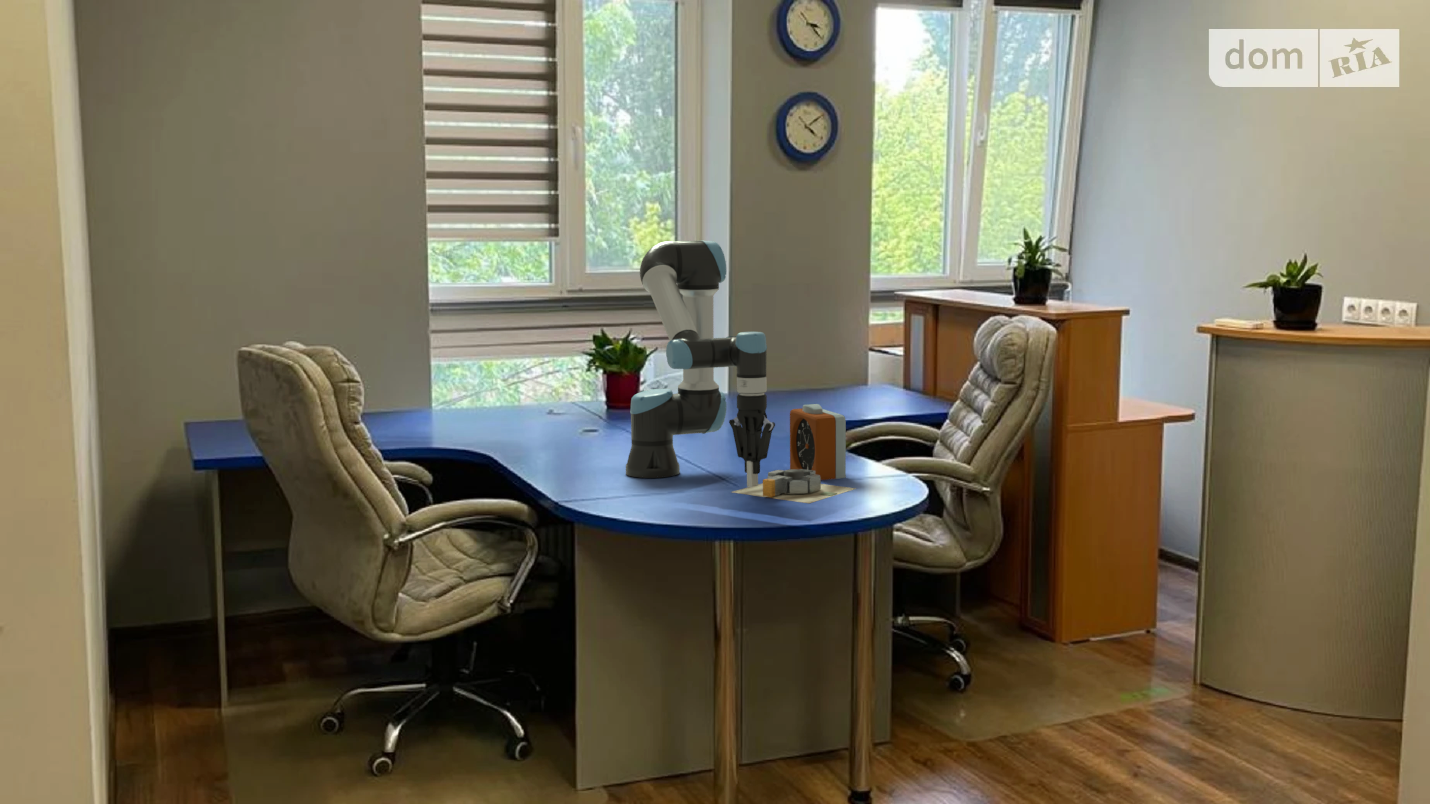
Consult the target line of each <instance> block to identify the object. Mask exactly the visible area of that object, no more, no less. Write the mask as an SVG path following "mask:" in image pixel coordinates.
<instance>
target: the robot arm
mask: <svg viewBox="0 0 1430 804" xmlns="http://www.w3.org/2000/svg"><path fill="white" fill-rule="evenodd" d="M726 275H727V261H726V256H725V254H724V251H723V249H722V247H721V245H720V244H719V243H718V242H716V241H714V240H704V239H701V240H676V241H674V240H673V241H672V240H665V241H661V242H658V243H656V244H655V245H653V246H651V248H650V249H648V251H647V252H646V253H645V254H644V256H643V258H642V260H641V263H640V266H639V278H640V281H641V284H642V287H643V289H644V290H645V291H646V292H647V293H649V294H650V296H651V298H652V301H653V303H654V306H655V309H656V311H657V313H658V316H659V318H660V320H661V322H662V325H663V328H664V330H665V332H666V333H665V334H666V335H667V337H668V340H669V341H668V342H667V345H666V349H665V355H666V357H665V358H666V362H667V365H668V366H669V367H670V368H671V369H674V370H682V380H681V382H680V383H679V384H678V385H677V393H674V392H673V391H672V390H673V389H670V388H654V389H648V390H643V391H640V392H638V393H636V394H634V395H633V396H632V397H631V400H630V409H629V410H630V411H629V412H630V413H629V414H630V436H631V438H630V440H631V447H630V450H629V454H628V458H627V462H626V464H625V475H627V476H629V477H634V478H640V479H641V478H642V479H643V478H644V479H653V478H654V479H656V478H660V479H661V478H668V477H673V476H677V475H679V474H680V472H681V470H680V469H681V468H680V467H681V466H680V464H679V461H678V458H677V454H676V450H675V448H674V440H673V439H674V436H679V435H680V436H681V435H690V434H691V435H693V434H702V435H703V434H704V435H705V434H707V433H715V432H717V431H719V430H721V428H722V426H723V425H724V422H725V420H726V415H727V401H726V399H727V397H726V395H725V393H724V392H723V391H721V390H720V386H719V384H718V383H717V382H716V381H715V380H714V369H715V368H732V367H733V368H734V367H735V368H736V392H737V395H736V408H737V409H738V411H737V413H736V416H735V417H734V418H733V419H729V421H728V423H729V425H730V427H731V429H732V434H733V438H734V443H735V444H734V445H735V449H736V453H737V457H738V458H741V459H743V461H744V472H745V474H746V488H747V487H754V486H758V484H759V474H760V473H761V461H762V460H765V459H767V457H768V453H769V449H770V443H771V438H772V433H773V430H774V428H775V427H776V423H775V422H774V421H772V422H771V421H770V420H769V419H768V416H767V415H768V414H767V412H766V411H767V407H768V406H767V405H768V403H767V402H768V399H767V398H768V397H767V395H766V392H767V391H768V390H767V389H768V388H767V387H768V386H767V385H768V384H767V380H768V377H767V349H768V345H767V336H766V334H765V333H764V332H762V331H741V332H738V333H737V334H736V335H733V336H732V335H730V336H726V337H715V338H714V295H715V294H717V292H718V291H719V289H720V284H721V283H723V282H724V281H725V280H726Z"/></svg>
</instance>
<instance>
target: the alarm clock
mask: <svg viewBox="0 0 1430 804" xmlns="http://www.w3.org/2000/svg"><path fill="white" fill-rule="evenodd" d="M846 427H847V425H846V417H845V416H844V415H843V414H841V413H838V412H834V411H831V410H828V409H824V408H823V407H822V406H821V404H819V403H815V404H814V403H812V404H803V405H802V408H801V407H800V408H793V409H791V410H790V412H789V469H798V470H799V469H805V470H813V471H815V474H817V475H820V478H821V481H827V480H838V479H845V478H846V477H847V476H846V475H847V473H846V467H847V466H846V465H847V463H846V459H847V458H846V456H847V455H846V453H847V452H846V448H847V447H846V441H847V439H846V436H847V432H846V431H847V430H846Z"/></svg>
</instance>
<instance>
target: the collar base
mask: <svg viewBox="0 0 1430 804" xmlns="http://www.w3.org/2000/svg"><path fill="white" fill-rule="evenodd" d="M784 476H787V477H792V480H802V477H803V476H804V471H803V470H798V469H790V468H789V469H785V470H784ZM854 490H857V488H856V487H849V486H847V487H846V486H840V485H833V484H827V483H826V484H825V483H821V489H820V490H818V491H814V492H811V493H797V494H789V493H787V494H786V493H782V494H779V495H775V496H773V497H768V496H763V482H762V483H758V486H754V487H747V486H746V487H744V488H741V489H738V490H733V491H731V493H733V494H734V493H735V494H741V495H748V496H754V497H760V498H768V499H769V498H770V499H777V500H783V501H789V502H796V503H804V504H812V503H816V502H819V501H822V500H825V499H827V498H832V497H835V496H838V495H841V494H844V493H847V492H850V491H854Z"/></svg>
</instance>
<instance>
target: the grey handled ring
mask: <svg viewBox="0 0 1430 804" xmlns="http://www.w3.org/2000/svg"><path fill="white" fill-rule="evenodd" d="M799 470H803V471H804V476H803V477H802V480H792V477H787V476H784V471H785V470H783V469H775V470H772V471H768V472H767V476H766V477H767V478H764V479H762V483H763V496H768V497H773V496H775V495H779V494H782V493H786V494H787V493H789V494H797V493H811V492H814V491H818V490H820V489H821V484H822V483H821V481H822V480H821V478H820V475H817V474H815V471H813V470H805V469H799Z"/></svg>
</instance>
